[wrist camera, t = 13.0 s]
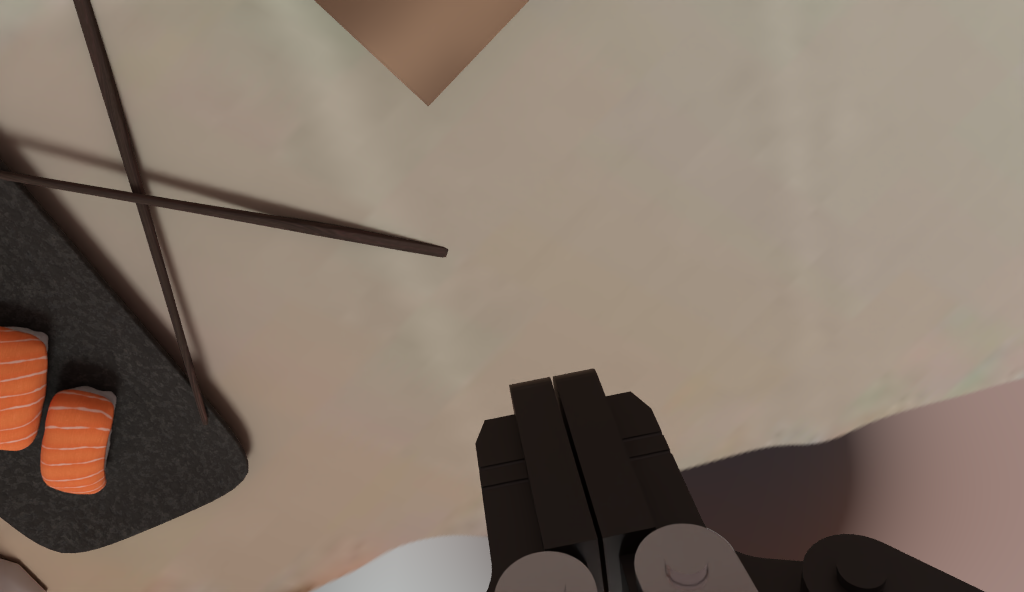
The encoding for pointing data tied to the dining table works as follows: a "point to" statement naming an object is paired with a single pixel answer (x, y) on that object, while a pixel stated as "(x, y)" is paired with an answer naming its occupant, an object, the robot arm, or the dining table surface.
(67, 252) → the sushi plate
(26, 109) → the dining table surface
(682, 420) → the dining table surface
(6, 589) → the flask
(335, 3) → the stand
